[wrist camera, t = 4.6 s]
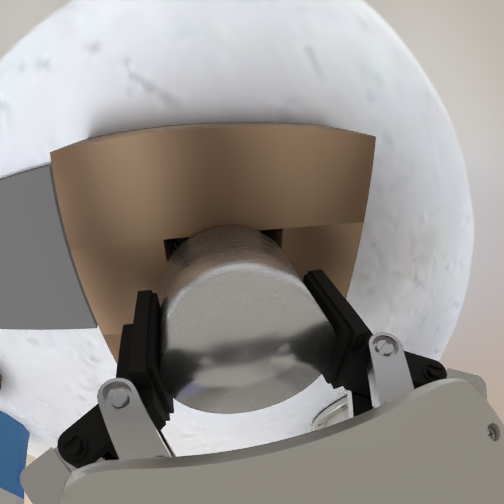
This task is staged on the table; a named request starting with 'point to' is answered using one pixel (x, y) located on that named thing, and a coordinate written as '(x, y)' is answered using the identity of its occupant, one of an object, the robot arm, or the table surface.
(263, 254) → the grey metal cylinder
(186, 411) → the table surface
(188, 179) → the housing
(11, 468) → the water bottle
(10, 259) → the mat
